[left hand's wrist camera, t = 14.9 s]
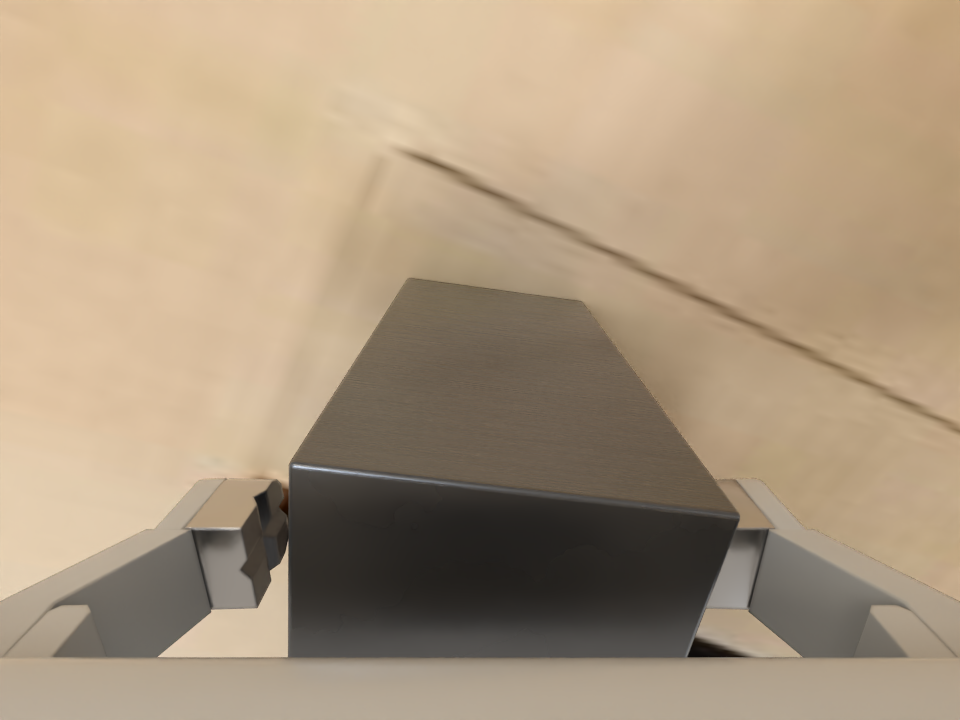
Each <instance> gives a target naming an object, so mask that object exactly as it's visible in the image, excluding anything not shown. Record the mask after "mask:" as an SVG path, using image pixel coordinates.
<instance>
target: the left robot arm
mask: <svg viewBox="0 0 960 720" xmlns="http://www.w3.org/2000/svg"><path fill="white" fill-rule="evenodd" d="M715 481H716V482H717V484H718V485H719V486H720V488H721V489H722V490H723V492H724V493H725V494H726V496H727V497H728V498H729V500H730V501H731V503H732V504H733V505H734V507H735V508H736V509H737V511H738V512H739V514H740V521H739V524H738V526H737V529H736V532H735V534H734V537H733V539H732V542H731V545H730V547H729V550H728V552H727V555H726V557H725V560H724V563H723V565H722V568H721V570H720V573H719V576H718V578H717V581H716V583H715V586H714V589H713V591H712V594H711V596H710V599H709V601H708V604H707V607H706V608H715V609H749V612H750V613H751V614H752V615H753V616H754V617H756V618H757V619H758V620H759V621H760V622H762V623H763V624H764V625H765V626H766V627H768V628H769V629H770V630H771V631H772V632H774V633H775V634H776V635H777V636H778V637H780V638H781V639H782V640H783V641H784V642H786V643H787V644H788V645H789V646H790V647H792V648H793V649H794V650H795V651H796V652H798V653H799V654H800V655H801V656H802V657H753V658H465V657H255V658H176V657H158V656H159V655H160V654H161V653H162V652H164V651H165V650H166V649H167V648H168V647H170V646H171V645H172V644H173V643H174V642H176V641H177V640H178V639H179V638H181V637H182V636H183V635H184V634H185V633H187V632H188V631H189V630H190V629H191V628H193V627H194V626H195V625H196V624H197V623H199V622H200V621H201V620H202V619H203V618H205V617H206V616H207V615H208V614H209V613H211V609H244V608H258V606H259V604H260V602H261V600H262V598H263V596H264V594H265V592H266V590H267V588H268V586H269V584H270V582H271V577H270V570H271V569H273V568H274V567H276V566H277V565H278V564H280V562H281V560H282V558H283V556H284V554H285V551H286V546H287V542H288V519H287V515H286V514H285V513H284V512H283V511H282V510H281V509H280V508H279V505H280V504H281V502H282V500H283V498H284V495H283V490H282V485H281V483H280V482H279V481H278V480H277V479H226V478H205V479H202V480H198V481H197V483H196V484H195V485H194V486H193V487H192V488H191V489H190V490H189V491H188V493H187V494H186V495H185V496H184V497H183V498H182V499H181V500H180V501H179V503H178V504H177V505H176V506H175V507H174V508H173V509H172V510H171V511H170V512H169V514H168V515H167V516H166V517H165V518H164V519H163V520H162V521H161V522H160V524H159V525H158V526H157V527H156V528H155V529H146V530H144V531H142V532H140V533H138V534H136V535H134V536H132V537H130V538H128V539H126V540H124V541H121V542H119V543H117V544H115V545H113V546H111V547H109V548H107V549H105V550H103V551H101V552H99V553H97V554H95V555H93V556H91V557H89V558H87V559H85V560H83V561H81V562H79V563H77V564H75V565H73V566H71V567H69V568H67V569H65V570H63V571H61V572H59V573H57V574H55V575H52V576H50V577H48V578H46V579H44V580H42V581H40V582H38V583H36V584H34V585H32V586H30V587H28V588H26V589H24V590H22V591H20V592H18V593H16V594H14V595H12V596H10V597H8V598H6V599H4V600H2V601H0V720H960V601H958V600H956V599H954V598H952V597H950V596H948V595H946V594H944V593H942V592H940V591H938V590H936V589H934V588H932V587H929V586H927V585H925V584H923V583H921V582H919V581H917V580H915V579H913V578H911V577H909V576H907V575H905V574H903V573H901V572H899V571H897V570H895V569H893V568H891V567H889V566H887V565H885V564H883V563H881V562H879V561H877V560H875V559H873V558H871V557H869V556H867V555H865V554H863V553H861V552H859V551H857V550H855V549H853V548H851V547H849V546H847V545H845V544H843V543H840V542H838V541H836V540H834V539H832V538H830V537H828V536H826V535H824V534H822V533H820V532H818V531H816V530H814V529H805V528H804V527H803V526H802V525H801V524H800V522H799V521H798V520H797V519H796V518H795V517H794V516H793V515H792V514H791V512H790V511H789V510H788V509H787V508H786V507H785V506H784V505H783V504H782V503H781V501H780V500H779V499H778V498H777V497H776V496H775V495H774V494H773V493H772V491H771V490H770V489H769V488H768V487H767V486H766V485H765V484H764V483H763V481H761V480H759V479H757V478H742V479H720V480H715Z"/></svg>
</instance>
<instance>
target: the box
mask: <svg viewBox="0 0 960 720" xmlns="http://www.w3.org/2000/svg"><path fill="white" fill-rule="evenodd" d="M739 521H740V514H739V512H738V511H737V509H736V508H735V507H734V505H733V504H732V503H731V501H730V500H729V498H728V497H727V496H726V494H725V493H724V492H723V490H722V489H721V488H720V486H719V485H718V484H717V482H716V481H715V480H714V478H713V477H712V476H711V474H710V473H709V472H708V470H707V469H706V468H705V466H704V465H703V464H702V462H701V461H700V460H699V458H698V457H697V455H696V454H695V453H694V451H693V450H692V449H691V447H690V446H689V445H688V443H687V442H686V441H685V439H684V438H683V437H682V435H681V434H680V433H679V431H678V430H677V429H676V427H675V426H674V425H673V423H672V422H671V421H670V419H669V418H668V417H667V415H666V414H665V412H664V411H663V410H662V408H661V407H660V406H659V404H658V403H657V402H656V400H655V399H654V398H653V396H652V395H651V394H650V392H649V391H648V390H647V388H646V387H645V386H644V384H643V383H642V382H641V380H640V379H639V378H638V376H637V375H636V374H635V372H634V371H633V369H632V368H631V367H630V365H629V364H628V363H627V361H626V360H625V359H624V357H623V356H622V355H621V353H620V352H619V351H618V349H617V348H616V347H615V345H614V344H613V343H612V341H611V340H610V339H609V337H608V336H607V335H606V333H605V332H604V331H603V329H602V328H601V326H600V325H599V324H598V322H597V321H596V320H595V318H594V317H593V316H592V314H591V313H590V312H589V310H588V309H587V308H586V306H585V305H584V304H583V302H581V301H575V300H568V299H560V298H553V297H545V296H538V295H531V294H523V293H516V292H508V291H501V290H494V289H486V288H479V287H471V286H464V285H457V284H449V283H442V282H434V281H427V280H419V279H412V278H408V279H407V280H406V282H405V284H404V285H403V287H402V288H401V290H400V291H399V293H398V294H397V296H396V298H395V299H394V301H393V302H392V304H391V305H390V307H389V308H388V310H387V312H386V313H385V315H384V316H383V318H382V319H381V321H380V323H379V324H378V326H377V327H376V329H375V330H374V332H373V333H372V335H371V337H370V338H369V340H368V341H367V343H366V344H365V346H364V348H363V349H362V351H361V352H360V354H359V355H358V357H357V358H356V360H355V362H354V363H353V365H352V366H351V368H350V369H349V371H348V372H347V374H346V376H345V377H344V379H343V380H342V382H341V383H340V385H339V387H338V388H337V390H336V391H335V393H334V394H333V396H332V397H331V399H330V401H329V402H328V404H327V405H326V407H325V408H324V410H323V411H322V413H321V415H320V416H319V418H318V419H317V421H316V422H315V424H314V426H313V427H312V429H311V430H310V432H309V433H308V435H307V436H306V438H305V440H304V441H303V443H302V444H301V446H300V447H299V449H298V451H297V452H296V454H295V455H294V457H293V458H292V460H291V462H290V464H289V558H288V657H465V658H687V656H688V653H689V651H690V648H691V645H692V643H693V640H694V638H695V635H696V633H697V630H698V627H699V625H700V622H701V620H702V617H703V614H704V612H705V609H706V607H707V604H708V601H709V599H710V596H711V594H712V591H713V589H714V586H715V583H716V581H717V578H718V576H719V573H720V570H721V568H722V565H723V563H724V560H725V557H726V555H727V552H728V550H729V547H730V545H731V542H732V539H733V537H734V534H735V532H736V529H737V526H738V524H739Z"/></svg>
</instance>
